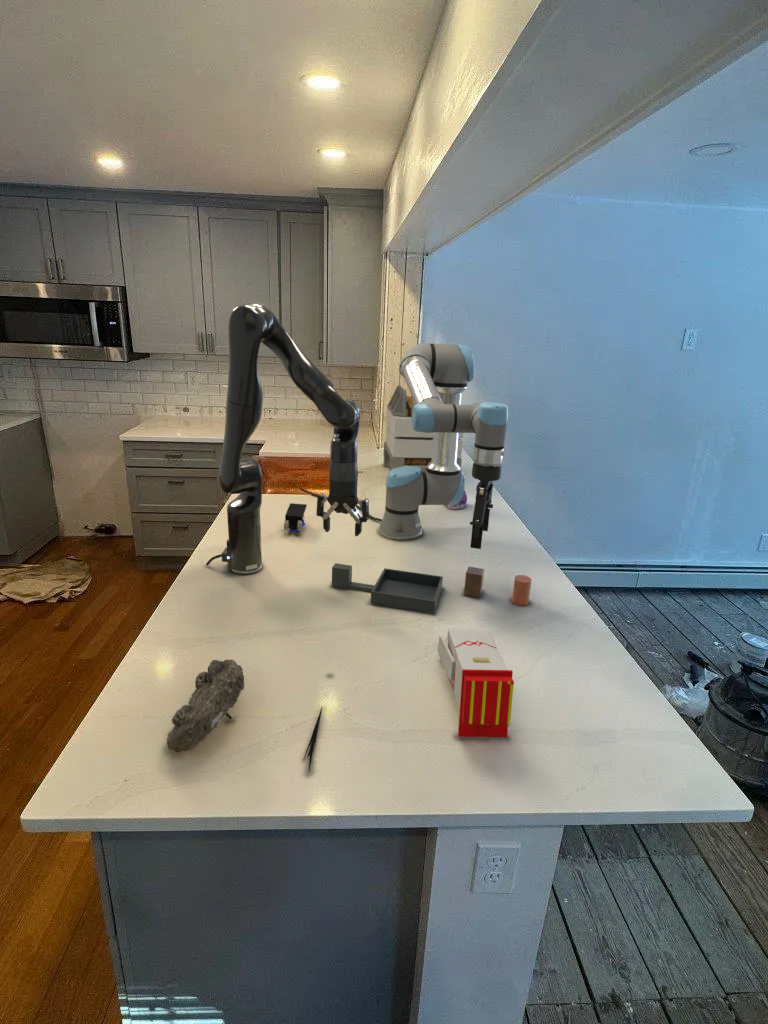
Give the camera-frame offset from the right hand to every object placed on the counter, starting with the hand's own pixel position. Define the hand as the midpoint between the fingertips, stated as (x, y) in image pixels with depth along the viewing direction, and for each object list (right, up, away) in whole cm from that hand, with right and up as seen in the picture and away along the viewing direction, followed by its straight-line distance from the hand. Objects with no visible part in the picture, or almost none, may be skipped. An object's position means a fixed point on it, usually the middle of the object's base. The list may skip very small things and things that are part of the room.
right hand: (479, 538), depth 155 cm
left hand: (-37, +2, +1) cm, 38 cm away
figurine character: (-57, +1, +45) cm, 73 cm away
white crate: (-9, +26, +120) cm, 123 cm away
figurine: (+3, +10, +76) cm, 77 cm away
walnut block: (-1, -16, +6) cm, 17 cm away
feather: (-38, -32, -46) cm, 68 cm away
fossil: (-59, -32, -47) cm, 81 cm away
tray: (-26, -15, +4) cm, 30 cm away
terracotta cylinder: (+12, -17, +2) cm, 21 cm away
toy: (-8, -30, -36) cm, 48 cm away
